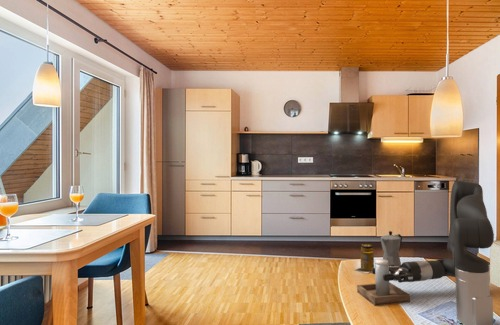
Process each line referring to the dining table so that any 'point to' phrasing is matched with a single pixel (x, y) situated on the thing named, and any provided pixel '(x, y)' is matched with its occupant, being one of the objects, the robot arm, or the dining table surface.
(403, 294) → the tray
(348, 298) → the dining table surface
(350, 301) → the dining table surface
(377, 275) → the salt shaker
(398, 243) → the coffeepot
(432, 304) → the dining table surface
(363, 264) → the condiment
